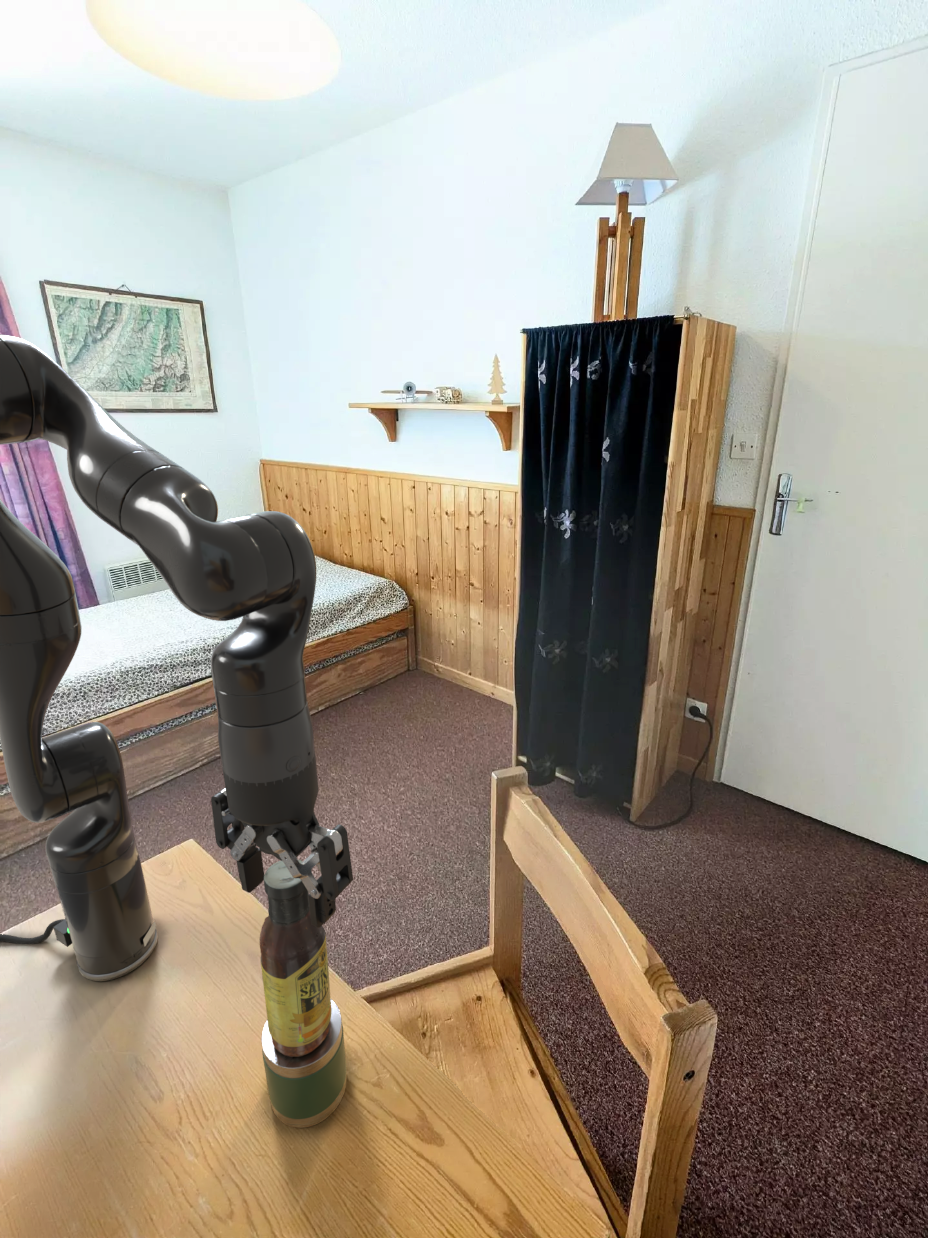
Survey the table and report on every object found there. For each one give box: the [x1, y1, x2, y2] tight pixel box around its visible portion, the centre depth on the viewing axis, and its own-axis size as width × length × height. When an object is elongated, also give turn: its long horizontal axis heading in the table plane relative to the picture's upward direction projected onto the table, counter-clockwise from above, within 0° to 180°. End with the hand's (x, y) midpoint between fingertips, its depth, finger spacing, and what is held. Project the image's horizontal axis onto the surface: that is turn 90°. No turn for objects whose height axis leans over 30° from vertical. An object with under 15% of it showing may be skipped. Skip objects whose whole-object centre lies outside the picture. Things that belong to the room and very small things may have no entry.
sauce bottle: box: [259, 859, 332, 1057], centre depth 59 cm, size 7×6×20 cm
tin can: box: [261, 998, 348, 1129], centre depth 64 cm, size 8×8×9 cm
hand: (287, 902), depth 57 cm, fingers open, 8 cm apart
